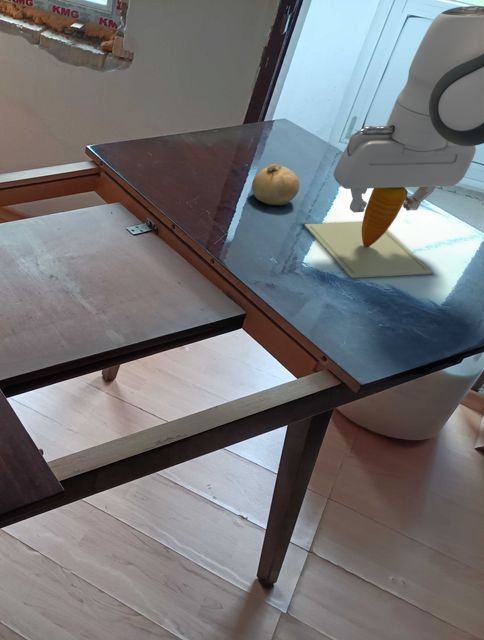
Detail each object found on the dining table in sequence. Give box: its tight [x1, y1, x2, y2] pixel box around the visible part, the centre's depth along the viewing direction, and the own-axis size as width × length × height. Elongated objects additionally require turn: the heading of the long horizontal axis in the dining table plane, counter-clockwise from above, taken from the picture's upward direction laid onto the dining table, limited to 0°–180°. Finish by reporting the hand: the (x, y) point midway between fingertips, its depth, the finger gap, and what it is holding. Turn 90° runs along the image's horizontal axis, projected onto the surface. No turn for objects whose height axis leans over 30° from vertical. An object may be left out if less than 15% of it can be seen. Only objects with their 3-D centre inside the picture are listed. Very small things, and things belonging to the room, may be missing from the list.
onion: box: [251, 162, 301, 206], centre depth 123 cm, size 8×8×7 cm
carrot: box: [362, 187, 409, 248], centre depth 109 cm, size 5×5×15 cm
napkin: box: [304, 221, 433, 279], centre depth 114 cm, size 16×14×1 cm
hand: (382, 209), depth 109 cm, fingers open, 8 cm apart
